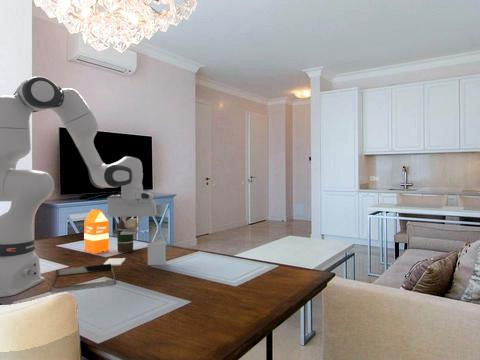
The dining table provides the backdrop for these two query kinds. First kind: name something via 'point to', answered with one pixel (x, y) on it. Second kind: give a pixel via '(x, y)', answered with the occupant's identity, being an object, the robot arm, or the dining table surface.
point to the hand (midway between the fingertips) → (132, 227)
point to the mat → (115, 261)
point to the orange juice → (96, 232)
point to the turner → (130, 227)
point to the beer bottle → (124, 238)
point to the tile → (157, 253)
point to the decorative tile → (83, 270)
